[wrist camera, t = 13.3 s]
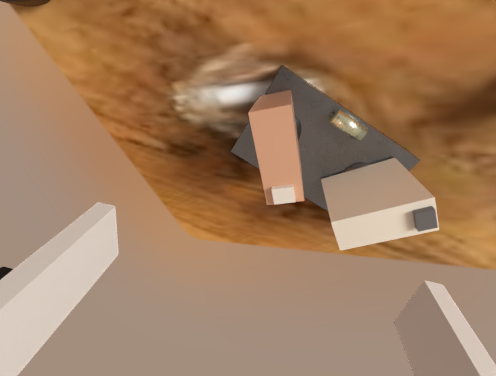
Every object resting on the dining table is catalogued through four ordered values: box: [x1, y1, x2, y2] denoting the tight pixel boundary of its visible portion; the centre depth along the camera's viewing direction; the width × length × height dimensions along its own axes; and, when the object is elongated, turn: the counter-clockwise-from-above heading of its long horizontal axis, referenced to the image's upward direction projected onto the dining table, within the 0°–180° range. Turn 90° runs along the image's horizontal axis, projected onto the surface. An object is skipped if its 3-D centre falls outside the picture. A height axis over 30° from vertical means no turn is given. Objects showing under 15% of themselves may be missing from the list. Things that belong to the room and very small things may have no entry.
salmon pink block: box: [248, 90, 304, 205], centre depth 28 cm, size 9×4×11 cm, turn 12°
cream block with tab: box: [321, 158, 439, 250], centre depth 29 cm, size 9×4×11 cm, turn 112°
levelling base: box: [231, 65, 420, 211], centre depth 34 cm, size 20×12×4 cm, turn 59°
